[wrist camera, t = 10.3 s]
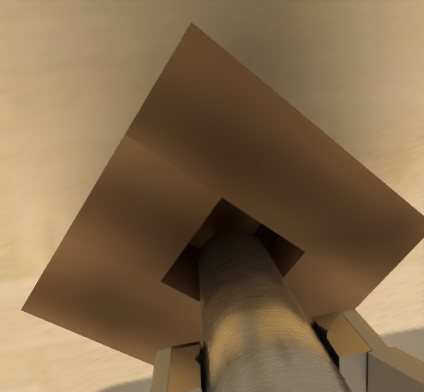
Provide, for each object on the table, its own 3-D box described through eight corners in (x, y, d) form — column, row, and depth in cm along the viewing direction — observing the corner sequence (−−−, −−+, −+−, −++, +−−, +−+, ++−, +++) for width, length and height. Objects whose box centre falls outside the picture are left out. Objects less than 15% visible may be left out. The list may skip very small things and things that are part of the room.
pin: (224, 216, 13) (357, 571, 3) (279, 250, 14) (540, 619, 4) (184, 270, 14) (163, 715, 3) (239, 300, 15) (355, 725, 4)
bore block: (191, 67, 17) (191, 22, 9) (345, 188, 21) (435, 225, 13) (85, 239, 20) (20, 310, 12) (236, 317, 24) (258, 409, 16)
